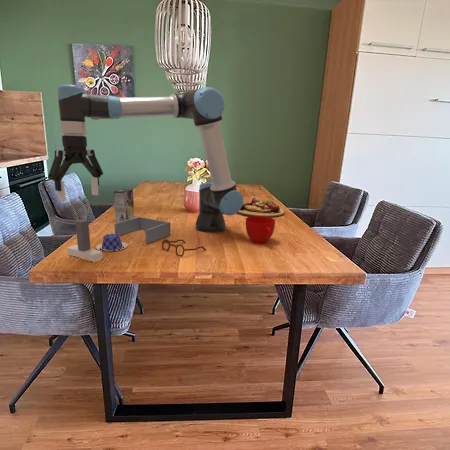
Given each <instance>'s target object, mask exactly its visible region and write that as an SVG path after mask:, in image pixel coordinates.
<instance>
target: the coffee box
mask: <svg viewBox="0 0 450 450" xmlns="http://www.w3.org/2000/svg"><path fill="white" fill-rule="evenodd" d="M113 200H114V201H113V203H114V204H113V205H114V216H115V217H114V219H115V223H118V222H122V221H125V220H129V219H132V218H135V206H134V204H135V201H134V189H127V188H126V189H125V188H122V189H118V190H115V191H113Z"/></svg>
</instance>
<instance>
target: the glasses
mask: <svg viewBox="0 0 450 450" xmlns="http://www.w3.org/2000/svg"><path fill="white" fill-rule="evenodd" d="M161 242H162V243H161V247H162V251H164V250H166V251H165V252H169V250H170V248H171V247H174V248H175V254H176V256H177V255H178V256H177V257H179V256H181V257H180V258H182V257H183V256H184V254H185V251H186V252H187V251H197V250H198V249H201V248H202V249H203V250H204V251H207V249H206V248H205V247H204V246H202V245H200V246H197V247H194V248H185V246H184V245H183V244H177V245H176V244H174V243H178V242H182V243H184V244H186V243H187V242H186V241H184V240H183V239H177V240H171V241H170V240H169V239H167V238H166V239H163V240H162V241H161ZM164 244H168V247H167V249H165V247H164ZM178 247H181V249H182V252H181V253H182V254H181V255H180V254H179V253H178Z"/></svg>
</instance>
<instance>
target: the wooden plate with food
mask: <svg viewBox="0 0 450 450" xmlns="http://www.w3.org/2000/svg"><path fill="white" fill-rule="evenodd" d="M236 214H238V215H241V216H245V217H252V216H264V217H269V218H273V219H274V218H279V217H283V216H284V215H285V210H284V209H283V208H281V207H280V205H277V204H276V203H275V202H274V201H272V200H271V199H269V198H265V199H264V200H262V202H261V201H260V198H258V196H254V197H253V198H252V199H251V201H250V202H248V201H243V205H242V207H241V209H240V211H239V212H237V213H236Z"/></svg>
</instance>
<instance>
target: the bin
mask: <svg viewBox="0 0 450 450" xmlns="http://www.w3.org/2000/svg"><path fill="white" fill-rule="evenodd" d="M113 224H114V234H117V235H119V237H121V236H124V235H126V234H129V233H132V232H135V231H138V230H143V231H145V244H146V245H148V243H149V244H152V243H154V242H156V241H159V240H161V239H164V238H166V237H169V236H171V222H170V221H164V220H159V219H153V218H149V217H144V216H136V217H134V218H132V219H129V220H125V221H122V222H115V223H113ZM158 239H159V240H158ZM153 241H154V242H153Z"/></svg>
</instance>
